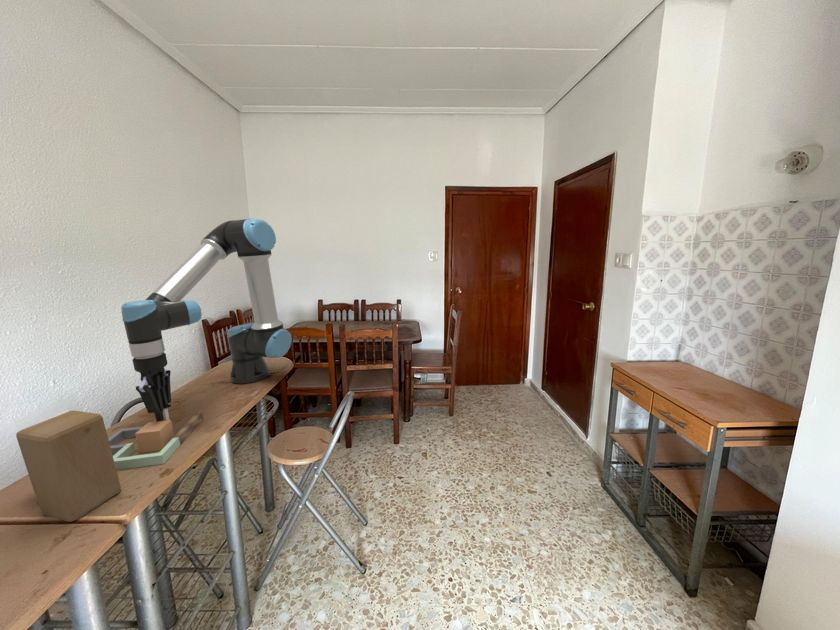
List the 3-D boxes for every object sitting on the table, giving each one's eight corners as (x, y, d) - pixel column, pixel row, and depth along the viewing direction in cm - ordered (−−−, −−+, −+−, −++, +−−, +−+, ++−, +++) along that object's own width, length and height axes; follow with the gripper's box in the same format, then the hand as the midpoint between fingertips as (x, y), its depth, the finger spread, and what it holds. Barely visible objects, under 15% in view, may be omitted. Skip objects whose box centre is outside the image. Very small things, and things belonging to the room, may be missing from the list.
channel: (159, 424, 109) (158, 417, 108) (203, 418, 111) (202, 412, 111) (129, 451, 95) (127, 443, 94) (180, 445, 97) (178, 437, 96)
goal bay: (129, 451, 95) (127, 443, 94) (180, 445, 97) (178, 437, 96) (107, 471, 86) (105, 462, 86) (164, 463, 89) (162, 455, 88)
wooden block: (124, 490, 79) (103, 412, 75) (71, 524, 70) (44, 437, 65) (94, 484, 82) (72, 408, 78) (39, 516, 72) (11, 431, 68)
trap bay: (121, 436, 102) (120, 429, 102) (149, 433, 104) (147, 425, 103) (94, 458, 92) (92, 450, 91) (125, 454, 93) (123, 446, 93)
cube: (152, 441, 99) (148, 422, 98) (175, 438, 100) (171, 419, 99) (139, 453, 94) (135, 433, 92) (163, 450, 95) (159, 430, 93)
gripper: (148, 349, 102) (163, 420, 107) (118, 363, 89) (137, 444, 94) (175, 347, 103) (189, 417, 108) (149, 361, 91) (167, 440, 96)
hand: (165, 429), depth 101 cm, fingers closed
